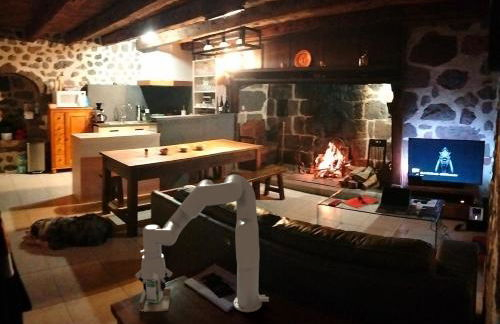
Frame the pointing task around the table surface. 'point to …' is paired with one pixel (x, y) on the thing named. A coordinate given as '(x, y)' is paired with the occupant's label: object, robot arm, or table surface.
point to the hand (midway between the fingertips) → (154, 289)
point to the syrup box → (154, 289)
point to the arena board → (151, 306)
